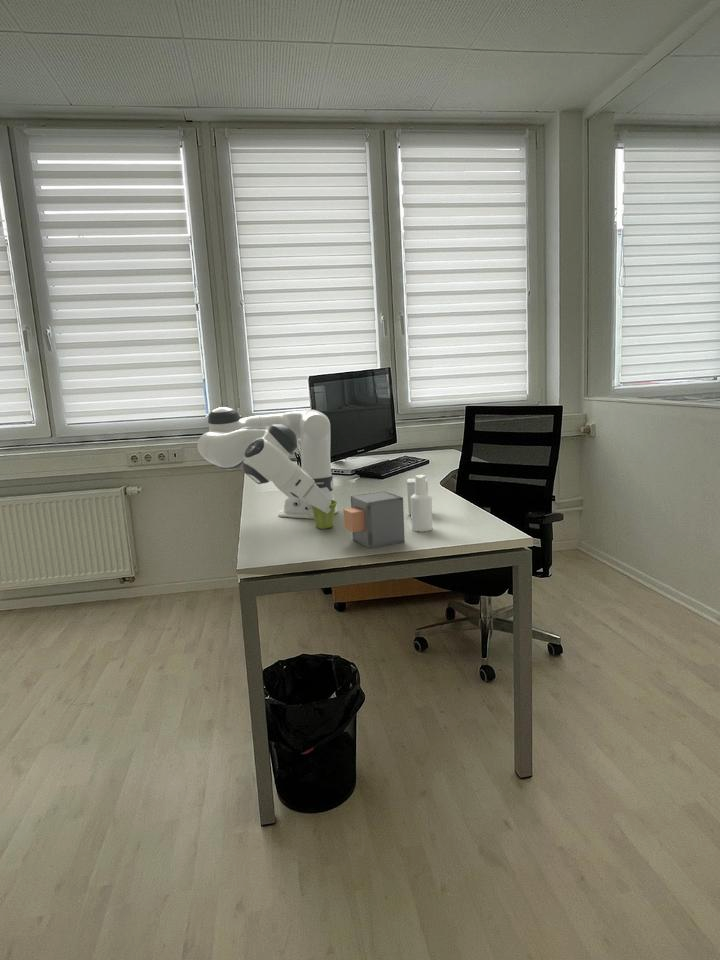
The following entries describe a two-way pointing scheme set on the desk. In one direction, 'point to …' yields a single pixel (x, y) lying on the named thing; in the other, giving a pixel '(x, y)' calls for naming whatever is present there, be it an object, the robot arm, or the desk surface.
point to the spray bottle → (421, 506)
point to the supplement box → (411, 491)
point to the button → (354, 519)
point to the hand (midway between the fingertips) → (327, 510)
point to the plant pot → (324, 516)
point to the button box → (380, 519)
